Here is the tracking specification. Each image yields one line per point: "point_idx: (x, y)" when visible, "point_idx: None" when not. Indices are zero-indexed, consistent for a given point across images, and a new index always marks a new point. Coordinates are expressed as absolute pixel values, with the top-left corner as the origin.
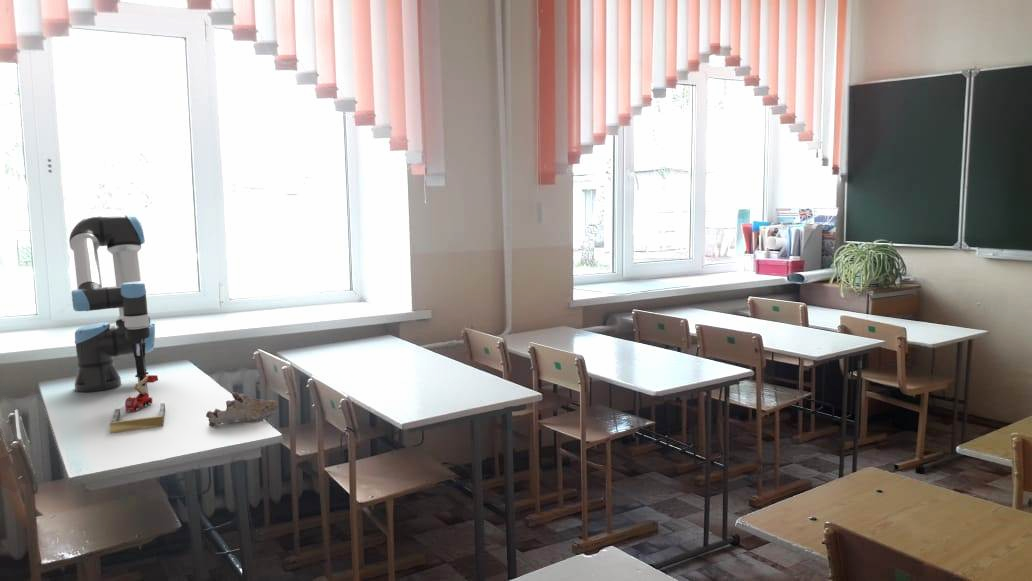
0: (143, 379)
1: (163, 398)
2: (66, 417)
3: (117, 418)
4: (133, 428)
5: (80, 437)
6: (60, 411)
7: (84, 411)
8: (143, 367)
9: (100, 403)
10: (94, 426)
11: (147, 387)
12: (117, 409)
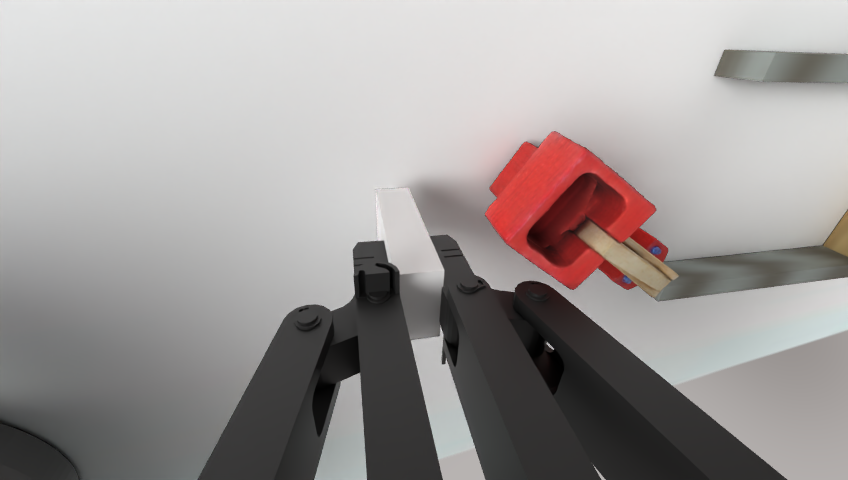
0: (638, 268)
1: (410, 68)
2: None
3: (766, 267)
4: None
5: (773, 329)
6: None
7: None
8: (630, 360)
9: (353, 382)
10: (695, 321)
11: (409, 210)
12: (672, 292)
